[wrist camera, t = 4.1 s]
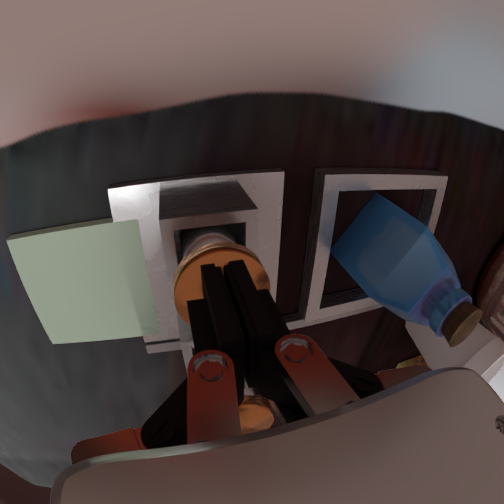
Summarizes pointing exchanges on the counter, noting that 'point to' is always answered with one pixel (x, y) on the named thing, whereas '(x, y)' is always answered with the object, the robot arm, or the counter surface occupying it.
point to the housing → (254, 233)
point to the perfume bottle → (406, 270)
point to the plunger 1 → (210, 262)
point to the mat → (87, 280)
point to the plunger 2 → (254, 413)
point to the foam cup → (460, 350)
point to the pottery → (493, 294)
